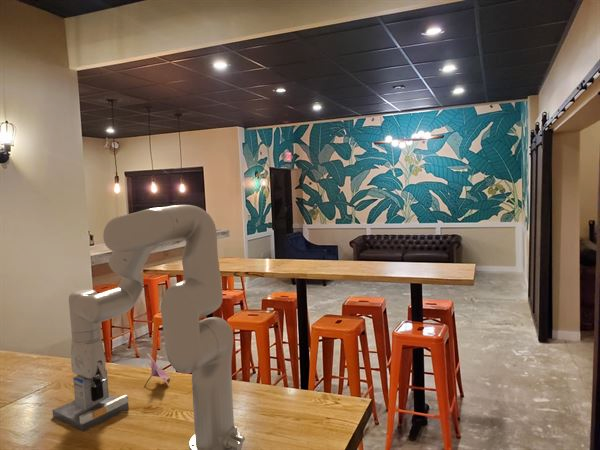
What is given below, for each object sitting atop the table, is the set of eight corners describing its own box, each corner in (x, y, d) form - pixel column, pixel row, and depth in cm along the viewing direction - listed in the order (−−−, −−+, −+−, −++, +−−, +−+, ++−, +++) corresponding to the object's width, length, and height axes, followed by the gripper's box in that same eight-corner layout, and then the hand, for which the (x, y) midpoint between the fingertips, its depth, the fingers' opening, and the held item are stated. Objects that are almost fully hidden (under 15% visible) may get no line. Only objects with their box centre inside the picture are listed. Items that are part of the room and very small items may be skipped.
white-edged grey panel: (129, 409, 134) (128, 395, 134) (83, 432, 122) (82, 417, 122) (98, 396, 143) (97, 383, 142) (53, 416, 131) (51, 403, 131)
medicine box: (99, 395, 136) (96, 366, 135) (109, 397, 134) (107, 369, 133) (75, 407, 129) (72, 377, 128) (85, 410, 127) (83, 380, 126)
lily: (157, 399, 142) (171, 369, 143) (124, 383, 143) (138, 353, 145) (171, 393, 153) (184, 366, 155) (140, 378, 155) (153, 351, 157)
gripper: (57, 333, 131) (62, 395, 133) (91, 344, 122) (97, 410, 124) (82, 326, 137) (87, 384, 139) (117, 335, 128) (122, 398, 130)
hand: (92, 396), depth 131 cm, fingers closed on medicine box, 4 cm apart
